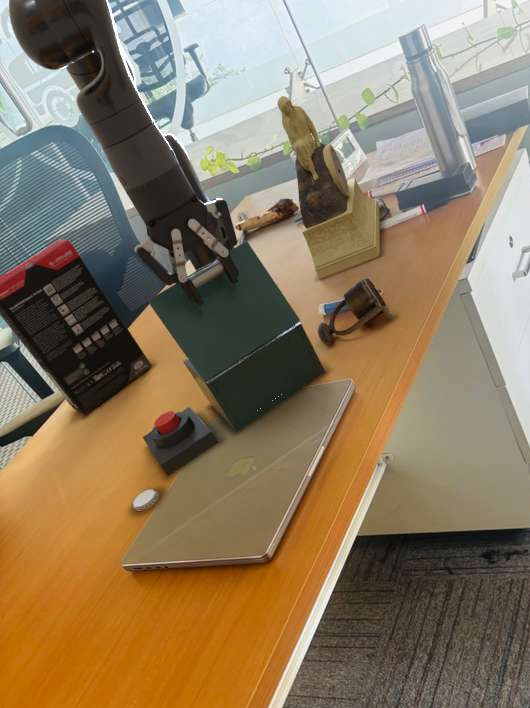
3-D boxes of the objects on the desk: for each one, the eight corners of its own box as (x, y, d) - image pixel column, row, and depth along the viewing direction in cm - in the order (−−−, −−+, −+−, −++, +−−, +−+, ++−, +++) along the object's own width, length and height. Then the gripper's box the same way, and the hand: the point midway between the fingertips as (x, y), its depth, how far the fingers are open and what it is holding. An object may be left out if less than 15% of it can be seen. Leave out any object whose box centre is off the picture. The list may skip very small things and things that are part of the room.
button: (157, 429, 107) (151, 421, 106) (177, 417, 108) (171, 408, 107) (163, 437, 104) (157, 429, 103) (183, 424, 105) (177, 415, 104)
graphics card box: (141, 360, 142) (56, 237, 126) (156, 365, 137) (69, 237, 121) (74, 411, 136) (-25, 288, 119) (87, 417, 131) (-15, 291, 114)
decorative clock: (379, 256, 134) (315, 93, 116) (319, 279, 138) (248, 124, 119) (379, 207, 156) (325, 63, 137) (327, 228, 159) (267, 90, 140)
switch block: (150, 447, 112) (135, 428, 110) (196, 416, 114) (183, 397, 111) (168, 476, 103) (153, 456, 100) (218, 442, 104) (205, 422, 102)
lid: (148, 302, 97) (144, 291, 92) (246, 242, 101) (248, 228, 95) (204, 382, 99) (204, 376, 94) (299, 321, 102) (304, 312, 97)
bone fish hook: (304, 204, 182) (245, 226, 187) (297, 187, 179) (237, 209, 184) (298, 217, 175) (236, 238, 180) (290, 198, 172) (228, 221, 177)
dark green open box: (211, 405, 114) (183, 361, 109) (294, 351, 118) (270, 306, 112) (236, 431, 105) (206, 384, 99) (325, 372, 108) (301, 323, 102)
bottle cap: (146, 490, 102) (144, 487, 101) (163, 492, 99) (161, 489, 99) (129, 509, 100) (126, 506, 99) (145, 512, 97) (143, 509, 97)
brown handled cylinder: (377, 305, 105) (384, 262, 111) (301, 318, 109) (311, 277, 115) (391, 339, 111) (397, 297, 116) (318, 350, 115) (327, 309, 120)
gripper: (189, 142, 89) (250, 261, 100) (93, 197, 87) (166, 313, 97) (206, 145, 84) (269, 271, 94) (104, 203, 81) (181, 326, 92)
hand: (217, 291), depth 96 cm, fingers closed on lid, 5 cm apart
